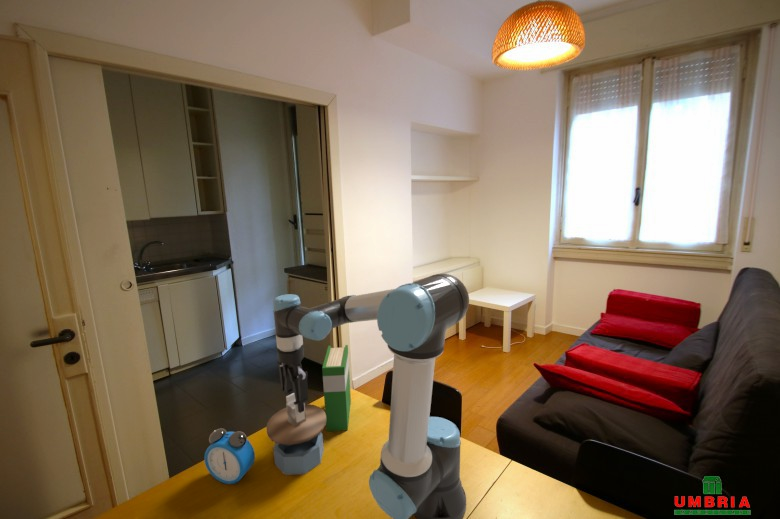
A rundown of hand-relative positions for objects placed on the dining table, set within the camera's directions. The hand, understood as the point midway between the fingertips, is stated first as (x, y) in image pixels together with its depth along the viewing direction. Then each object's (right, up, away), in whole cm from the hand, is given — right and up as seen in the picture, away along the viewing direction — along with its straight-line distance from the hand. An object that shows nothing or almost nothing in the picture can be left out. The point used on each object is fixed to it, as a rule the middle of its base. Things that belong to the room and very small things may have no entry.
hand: (296, 416), depth 112 cm
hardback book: (+10, -10, +24) cm, 28 cm away
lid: (0, -3, +1) cm, 3 cm away
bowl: (0, -14, +3) cm, 14 cm away
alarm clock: (-18, -16, -4) cm, 24 cm away
